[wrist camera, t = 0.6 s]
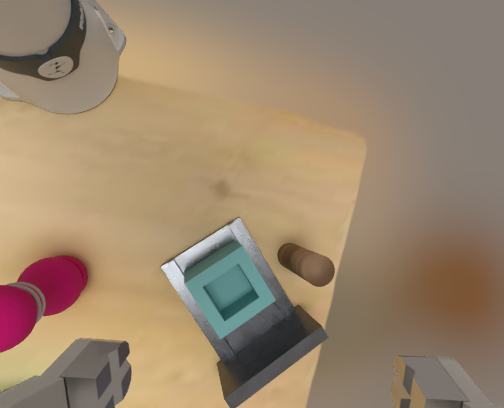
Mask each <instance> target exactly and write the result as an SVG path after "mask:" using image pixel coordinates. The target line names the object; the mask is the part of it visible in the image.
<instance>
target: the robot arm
mask: <svg viewBox="0 0 504 408" xmlns="http://www.w3.org/2000/svg"><path fill="white" fill-rule="evenodd" d="M109 30H113V33H110V32H109ZM125 44H126V37H125V35H124V33H123V32H122V31H121V29H120V28H119V27H118V26H117V25H116V24H115V23H114V22H113V20H112V19H111V18H110V17H109V16H108V15H107V14H106V12H105V11H104V10H103V9H102V8H101V7H100V6H99V5H98V4H97V2H96V1H95V0H0V96H1V97H3V98H5V99H9V100H16V101H26V102H29V103H31V104H33V105H35V106H37V107H40V108H42V109H44V110H47V111H50V112H54V113H61V114H74V113H80V112H84V111H87V110H90V109H92V108H94V107H96V106H97V105H99V104H100V103H101V102H103V101H104V100H105V99H106V98H107V97H108V95H109V94H110V93H111V91H112V90H113V88H114V86H115V83H116V80H117V76H118V62H119V56H120V55H121V53H122V51H123V49H124V47H125ZM129 353H130V351H129V343H127V342H126V341H119V340H106V339H90V338H79V339H76V340H75V341H74V342H73V343H72V344H71V345H70V346H69V347H68V348H67V349H66V350H65V351H64V352H63V353H62V354H61V355H60V356H59V357H58V358H57V359H56V360H55V361H54V363H53V364H52V365H51V366H50V367H49V368H48V369H47V370H46V371H45V372H44V373H43V374H42V375H41V376H34V377H32V378H30V379H28V380H26V381H24V382H22V383H20V384H18V385H16V386H14V387H12V388H10V389H8V390H6V391H4V392H2V393H0V408H115V405H116V404H118V403H119V402H121V401H122V400H123V399H124V397H125V395H126V393H127V391H128V388H129V385H130V382H131V373H132V372H131V365H130V363H129V362H128V361H127V360H126V358H127V356H128V355H129ZM394 368H395V370H396V372H397V374H398V375H397V376H396V377H395V378H394V379H393V380H392V389H391V390H392V391H391V392H392V400H393V404H394V408H503V407H502V406H500V405H498V404H491V403H490V401H489V400H488V399H487V398H486V397H485V395H484V394H483V393H482V392H481V390H480V389H479V388H478V387H477V386H476V384H475V383H474V382H473V381H472V380H471V379H470V377H469V376H468V375H467V373H466V372H465V371H464V370H463V369H462V367H461V366H460V365H459V364H458V362H457V361H456V360H455V359H453V358H452V357H438V356H437V357H436V356H433V357H423V356H422V357H421V356H401V355H397V357H396V359H395V363H394Z"/></svg>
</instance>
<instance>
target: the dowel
mask: <svg viewBox="0 0 504 408" xmlns="http://www.w3.org/2000/svg"><path fill="white" fill-rule="evenodd" d="M278 260H279V262H280V264H281V265H283V266H284V267H286V268H287V269H289V270H290V271H292V272H294V273H295V274H297V275H298V276H300V277H301V278H303V279H304V280H306V281H308V282H309V283H311V284H312V285H314V286H317V287H322V286H325V285H327V284H328V283H330V281H331V280H332V279H333V276H334V272H335V269H334V265H333V263H332V261H331V260H330V259H329V258H327V257H325V256H323V255H320V254H318V253H315V252H312V251H310V250H307V249H305V248H302V247H299V246H297V245H294V244H290V243H289V244H285V245H283V246H282V247H281V248H280V249H279V252H278Z"/></svg>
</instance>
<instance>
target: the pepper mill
mask: <svg viewBox="0 0 504 408" xmlns="http://www.w3.org/2000/svg"><path fill="white" fill-rule="evenodd" d="M87 279H88V275H87V270H86V268H85V266H84V265H83V264H82V263H81V262H80V261H79V260H77V259H76V258H73V257H69V256H60V257H52V258H45V259H42V260H39V261H37V262H35V263H33V264H31V265H30V266H29V267H27V268H26V269H25V270H24V271H23V273H22V274H21V275H20V277H19V278H18V281H17V282H15V283H10V284H8V285H0V353H1V352H4V351H6V350H9V349H11V348H13V347H14V346H16V345H18V344H19V343H21V342H22V341H23V340H24V339H25V338H26V337H27V336H28V335H29V334H30V333H31V331H32V330H33V328H34V326H35V324H36V323H37V322H38V321H39V320H40V319H41V317H42V316H50V315H54V314H57V313H60V312H62V311H64V310H66V309H67V308H69V307H70V306H71V305H72V304H73V303H75V301H76V300H77V299H78V297H79V296H80V293H81V292H82V290H83V289H84V287H85V286H86V283H87Z"/></svg>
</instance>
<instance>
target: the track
mask: <svg viewBox="0 0 504 408" xmlns="http://www.w3.org/2000/svg"><path fill="white" fill-rule="evenodd" d="M233 240H236V241H237V242H238V243H240V244H241V245H242V246H243V247H244V249H245V250H246V252H247V254H248V255H249V257H250V259H251V260H252V262H253V263H254V265H255V267H256V268H257V270H258V272H259V273H260V275H261V277H262V278H263V280H264V282H265V283H266V285H267V286H268V288H269V290H270V291H271V293H272V295H273V296H274V298H275V300H276V301H274V302H273V303H272V304H270V305H269V306H267V307H266V308H264V309H263V310H262V311H260V312H259V313H257V314H256V315H255V316H253V317H252V318H250V319H249V320H247V321H246V322H245V323H243V324H242V325H240V326H239V327H237V328H236V329H235V330H233V331H232V332H230V333H229V334H228V335H226V336H225V337H223V338H222V339H220V338H219V337H218V335H217V334H216V332H215V330H214V329H213V327H212V326H211V324H210V323H209V321H208V320H207V318H206V317H205V315H204V313H203V312H202V310H201V309H200V307H199V306H198V304H197V303H196V301H195V300H194V298H193V296H192V295H191V293H190V292H189V290H188V289H187V287H186V286H185V284H184V272H185V271H186V270H188V269H189V268H191V267H192V266H194V265H196V264H197V263H199V262H200V261H202V260H203V259H205V258H206V257H208V256H210V255H211V254H213V253H214V252H216V251H217V250H219V249H220V248H222V247H224V246H225V245H227V244H228V243H230V242H231V241H233ZM161 268H162V270H163V271H164V273H165V274H166V276H167V277H168V279H169V280H170V282H171V284H172V285H173V287H174V288H175V290H176V291H177V293H178V294H179V296H180V297H181V299H182V300H183V302H184V303H185V305H186V306H187V308H188V310H189V311H190V313H191V314H192V316H193V317H194V319H195V320H196V322H197V323H198V325H199V326H200V328H201V329H202V331H203V333H204V334H205V336H206V337H207V339H208V340H209V342H210V343H211V345H212V346H213V348H214V349H215V351H216V352H217V354H218V356H219V357H220V359H221V361H219V362H218V363H217V366H218V371H219V376H220V381H221V386H222V391H223V396H224V399H225V401H226V402H227V404H228V405H229V407H230V408H236V407H238V406H239V405H240V404H241V403H243V402H244V401H245V400H247V399H248V398H249V397H251V396H252V395H253V394H255V393H256V392H257V391H259V390H260V389H261V388H263V387H264V386H265V385H266V384H268V383H269V382H270V381H272V380H273V379H274V378H276V377H277V376H278V375H280V374H281V373H282V372H284V371H285V370H286V369H288V368H289V367H290V366H291V365H293V364H294V363H295V362H297V361H298V360H299V359H301V358H302V357H303V356H305V355H306V354H307V353H309V352H310V351H311V350H313V349H314V348H315V347H316V346H318V345H319V344H320V343H322V342H323V341H324V340H326V339H327V338H328V336H327V334H326V333H325V331H324V329H323V327H322V326H321V325H320V324H319V323H318V322H317V321H316V320H314V319H313V318H312V317H311V316H310V315H309V314H308V313H307V312H306V311H304V310H303V309H302V308H301V307H300V306H299V305H297V306H296V307H293V305H292V304H291V302H290V300H289V299H288V297H287V295H286V294H285V292H284V290H283V289H282V287H281V285H280V284H279V282H278V281H277V279H276V277H275V276H274V274H273V272H272V271H271V269H270V267H269V266H268V264H267V262H266V261H265V259H264V257H263V256H262V254H261V252H260V251H259V249H258V247H257V246H256V244H255V242H254V241H253V239H252V237H251V236H250V234H249V232H248V231H247V229H246V227H245V226H244V224H243V222H242V221H241V219H240V218H239V217H238V218H237V219H235V220H233V221H232V222H230V223H229V224H227V225H225V226H224V227H222V228H221V229H219V230H217V231H216V232H214V233H213V234H211V235H209V236H208V237H206V238H205V239H203V240H201V241H200V242H198V243H197V244H195V245H194V246H192V247H190V248H189V249H187V250H186V251H184V252H182V253H181V254H179V255H178V256H176V257H174V258H173V259H171V260H170V261H168V262H166V263H165V264H163V265H162V266H161Z"/></svg>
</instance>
